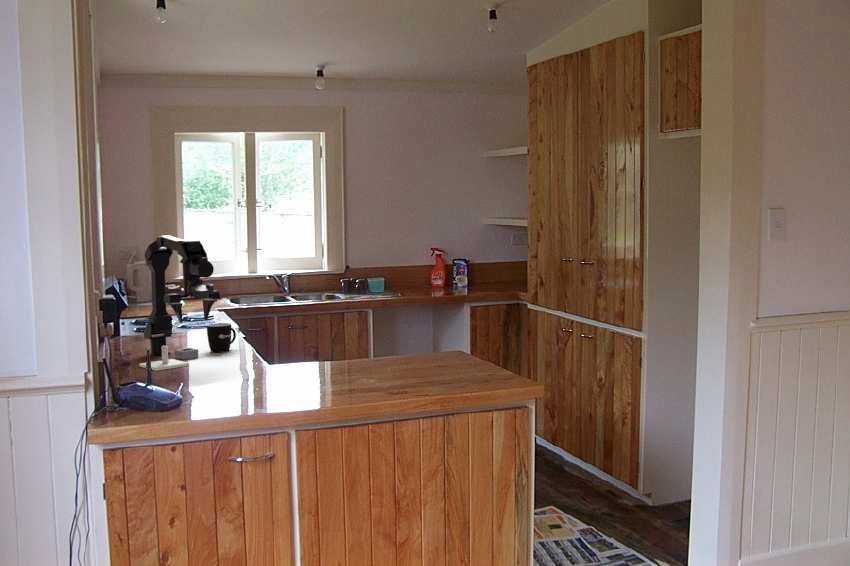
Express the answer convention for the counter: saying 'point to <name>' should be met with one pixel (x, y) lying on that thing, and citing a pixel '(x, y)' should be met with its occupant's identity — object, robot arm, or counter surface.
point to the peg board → (166, 366)
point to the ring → (186, 353)
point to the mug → (220, 337)
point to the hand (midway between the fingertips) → (193, 321)
